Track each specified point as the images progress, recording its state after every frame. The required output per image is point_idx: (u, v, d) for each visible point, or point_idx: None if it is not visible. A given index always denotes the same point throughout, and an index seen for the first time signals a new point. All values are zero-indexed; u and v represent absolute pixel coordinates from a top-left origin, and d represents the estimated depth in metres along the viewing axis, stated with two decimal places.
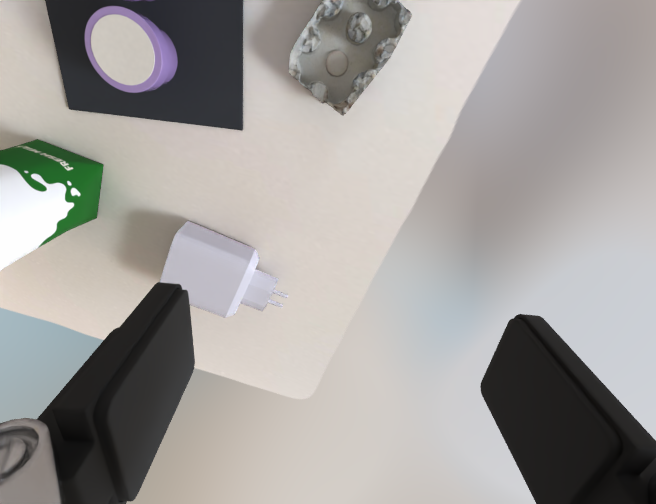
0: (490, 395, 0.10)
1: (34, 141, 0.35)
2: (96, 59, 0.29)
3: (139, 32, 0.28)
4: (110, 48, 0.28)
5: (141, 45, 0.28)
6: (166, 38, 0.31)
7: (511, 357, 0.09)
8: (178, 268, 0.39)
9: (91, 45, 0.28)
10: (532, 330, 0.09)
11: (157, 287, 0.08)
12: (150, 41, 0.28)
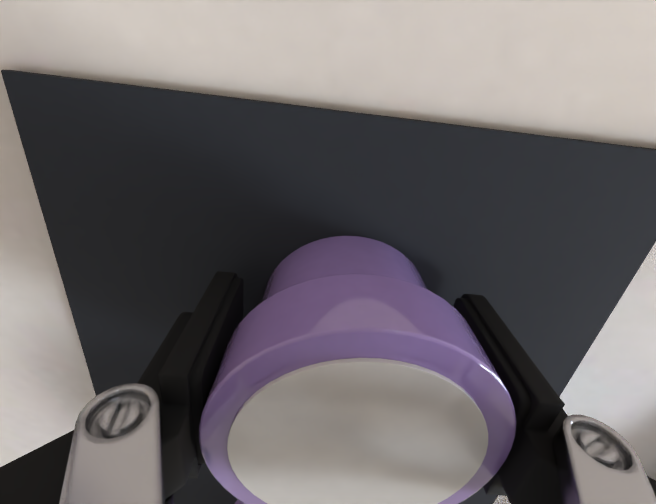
0: None
1: None
2: None
3: None
4: None
5: None
6: None
7: None
8: None
9: None
10: (474, 307, 0.10)
11: (218, 275, 0.09)
12: None
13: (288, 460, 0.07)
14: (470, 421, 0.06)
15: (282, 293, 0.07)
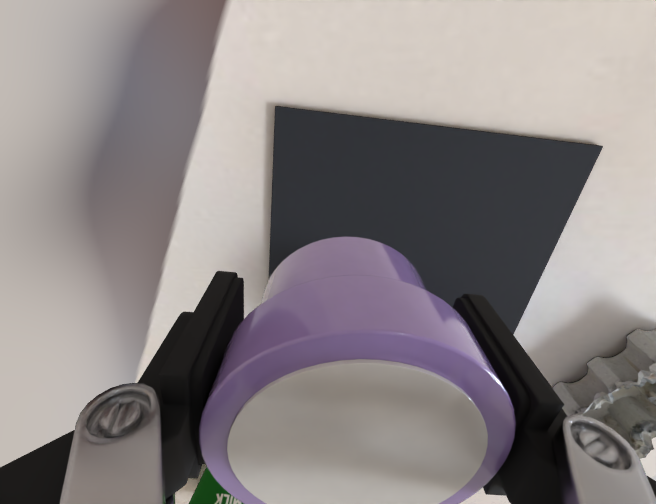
0: None
1: None
2: None
3: None
4: None
5: None
6: None
7: None
8: None
9: None
10: (474, 307, 0.10)
11: (218, 275, 0.09)
12: None
13: (289, 460, 0.07)
14: (470, 422, 0.06)
15: (282, 294, 0.07)
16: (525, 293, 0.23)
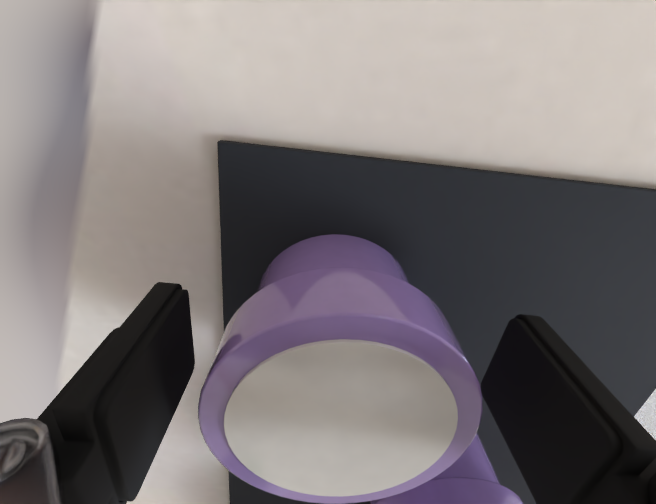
0: (490, 395, 0.10)
1: None
2: None
3: None
4: None
5: None
6: None
7: (511, 357, 0.09)
8: None
9: None
10: (533, 330, 0.09)
11: (157, 287, 0.08)
12: None
13: (280, 436, 0.08)
14: (442, 397, 0.07)
15: (273, 285, 0.08)
16: None
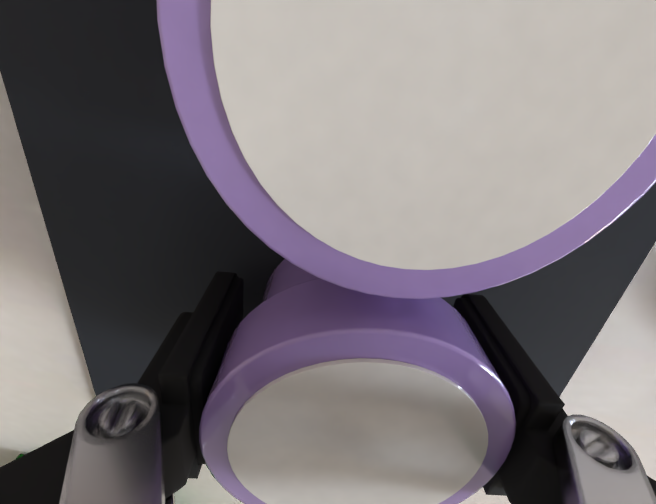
0: None
1: None
2: (238, 471, 0.07)
3: (455, 411, 0.06)
4: (307, 451, 0.07)
5: (443, 442, 0.07)
6: None
7: None
8: None
9: (227, 442, 0.07)
10: (474, 307, 0.09)
11: (218, 275, 0.09)
12: (484, 428, 0.07)
13: None
14: None
15: None
16: None
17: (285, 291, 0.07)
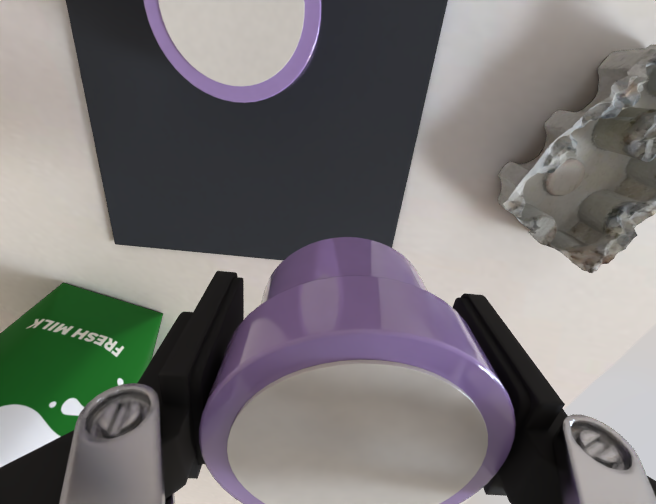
0: None
1: (59, 292, 0.22)
2: (238, 471, 0.07)
3: (454, 412, 0.06)
4: (307, 453, 0.07)
5: (442, 443, 0.07)
6: None
7: None
8: None
9: (227, 443, 0.07)
10: (474, 307, 0.09)
11: (218, 275, 0.09)
12: (484, 428, 0.07)
13: None
14: None
15: None
16: None
17: (285, 292, 0.07)
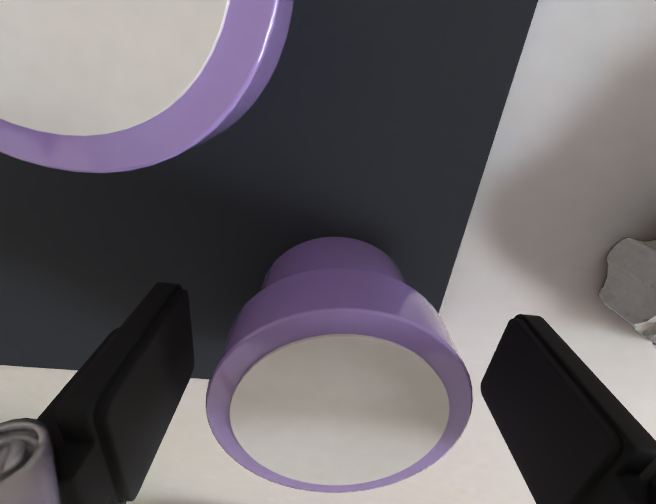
0: (490, 395, 0.10)
1: None
2: (239, 436, 0.08)
3: (419, 379, 0.07)
4: (297, 417, 0.08)
5: (411, 408, 0.08)
6: None
7: (511, 357, 0.09)
8: None
9: (229, 409, 0.08)
10: (532, 330, 0.09)
11: (157, 287, 0.08)
12: (445, 395, 0.08)
13: None
14: None
15: None
16: None
17: (278, 282, 0.08)
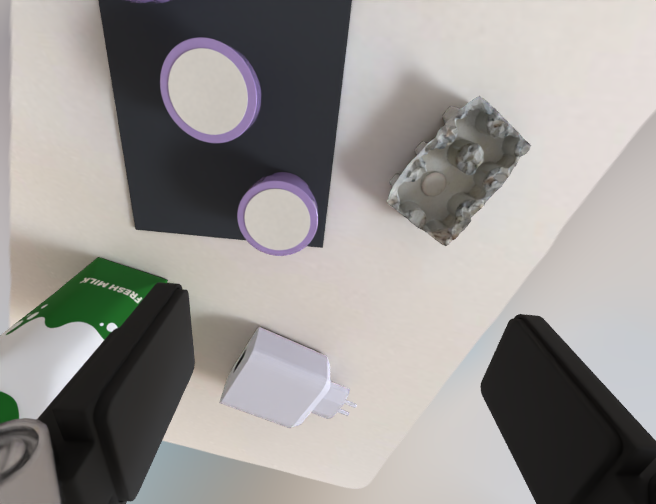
0: (490, 395, 0.10)
1: (96, 263, 0.32)
2: (247, 227, 0.27)
3: (298, 204, 0.26)
4: (264, 218, 0.26)
5: (298, 215, 0.26)
6: None
7: (511, 357, 0.09)
8: (249, 384, 0.35)
9: (244, 215, 0.26)
10: (533, 330, 0.09)
11: (157, 287, 0.08)
12: (308, 211, 0.26)
13: None
14: None
15: None
16: (337, 60, 0.26)
17: None
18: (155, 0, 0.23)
